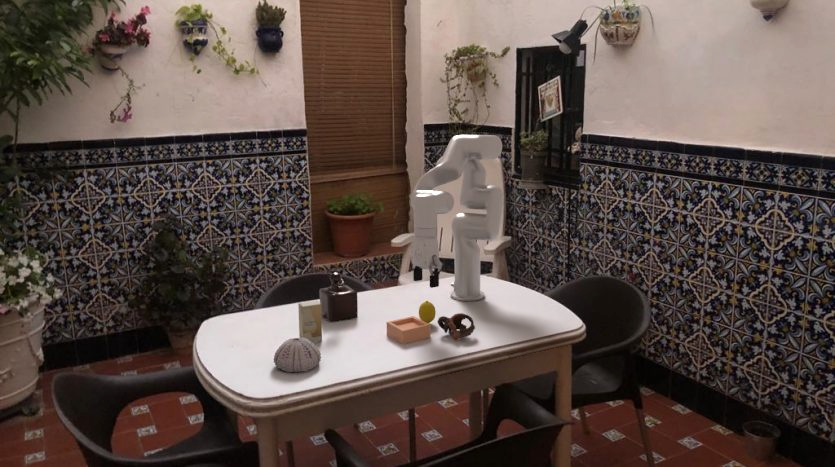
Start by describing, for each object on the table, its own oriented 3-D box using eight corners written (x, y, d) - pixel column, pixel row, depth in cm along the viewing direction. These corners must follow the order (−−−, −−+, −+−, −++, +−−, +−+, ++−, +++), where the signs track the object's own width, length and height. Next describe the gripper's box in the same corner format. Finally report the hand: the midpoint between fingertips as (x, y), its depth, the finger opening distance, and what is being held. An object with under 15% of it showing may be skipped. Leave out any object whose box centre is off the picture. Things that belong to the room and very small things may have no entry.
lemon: (436, 321, 228) (435, 298, 226) (435, 326, 222) (434, 303, 221) (419, 321, 228) (419, 298, 227) (418, 326, 223) (417, 303, 221)
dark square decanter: (317, 314, 237) (315, 264, 233) (347, 309, 242) (345, 260, 238) (333, 327, 224) (331, 275, 220) (364, 322, 228) (362, 270, 225)
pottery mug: (474, 331, 219) (479, 314, 213) (468, 353, 212) (472, 336, 206) (438, 321, 220) (442, 303, 215) (431, 342, 213) (434, 325, 208)
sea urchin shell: (322, 355, 201) (320, 329, 199) (321, 374, 188) (320, 346, 186) (276, 358, 199) (274, 332, 197) (272, 377, 186) (270, 349, 184)
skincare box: (303, 344, 209) (301, 306, 206) (299, 340, 213) (297, 302, 210) (323, 340, 212) (321, 303, 209) (318, 336, 216) (316, 299, 213)
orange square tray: (386, 334, 216) (386, 322, 215) (413, 328, 221) (413, 316, 221) (403, 344, 208) (402, 330, 207) (430, 337, 213) (430, 324, 212)
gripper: (401, 229, 224) (402, 279, 227) (430, 237, 210) (430, 291, 213) (421, 227, 228) (421, 276, 231) (450, 235, 214) (450, 287, 217)
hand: (426, 283), depth 222 cm, fingers open, 9 cm apart
